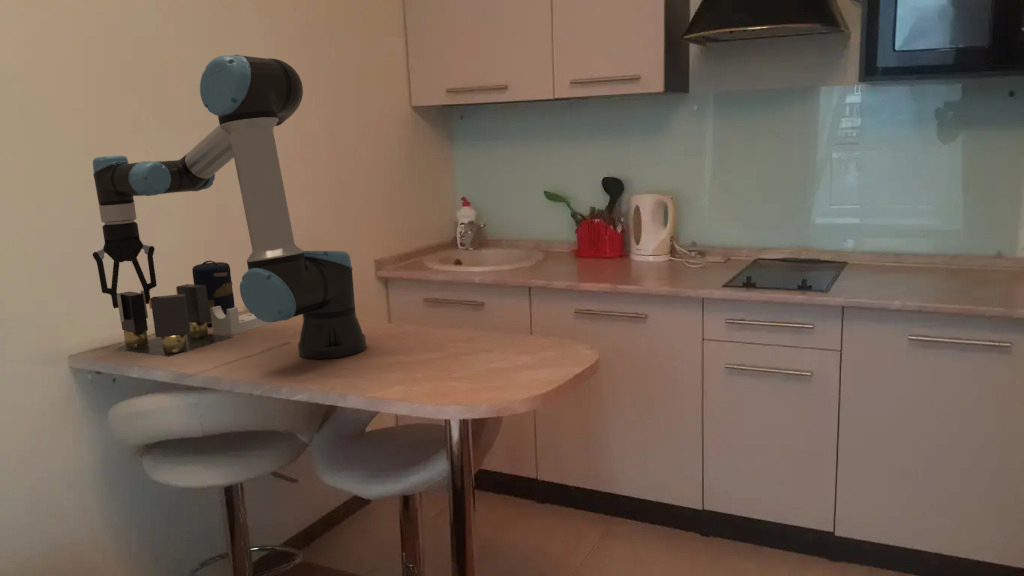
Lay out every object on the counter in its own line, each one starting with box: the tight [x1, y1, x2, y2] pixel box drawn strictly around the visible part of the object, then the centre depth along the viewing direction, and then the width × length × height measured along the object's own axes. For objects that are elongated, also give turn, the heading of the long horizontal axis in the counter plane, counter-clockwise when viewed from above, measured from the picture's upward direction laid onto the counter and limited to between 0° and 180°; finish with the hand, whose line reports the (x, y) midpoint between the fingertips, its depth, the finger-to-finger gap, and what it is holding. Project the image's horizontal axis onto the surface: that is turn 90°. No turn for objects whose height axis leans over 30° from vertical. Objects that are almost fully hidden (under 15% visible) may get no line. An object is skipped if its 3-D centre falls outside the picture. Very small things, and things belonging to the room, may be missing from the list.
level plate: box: [114, 333, 235, 358], centre depth 193 cm, size 20×19×2 cm
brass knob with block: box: [119, 290, 149, 348], centre depth 191 cm, size 7×5×13 cm
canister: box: [191, 260, 236, 328], centre depth 212 cm, size 10×10×18 cm
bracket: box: [210, 306, 272, 336], centre depth 206 cm, size 13×7×8 cm, turn 150°
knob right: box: [175, 283, 210, 338], centre depth 198 cm, size 7×5×13 cm
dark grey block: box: [148, 294, 190, 353], centre depth 184 cm, size 7×5×13 cm
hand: (134, 319), depth 191 cm, fingers closed on brass knob with block, 4 cm apart
